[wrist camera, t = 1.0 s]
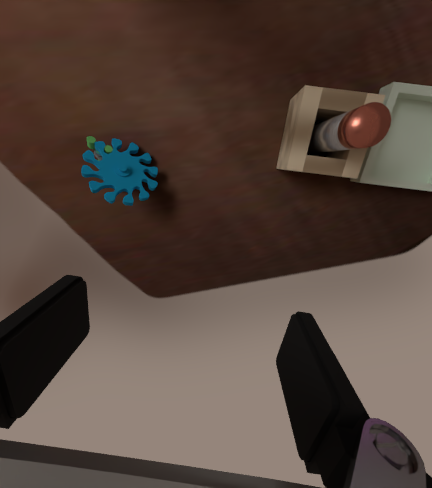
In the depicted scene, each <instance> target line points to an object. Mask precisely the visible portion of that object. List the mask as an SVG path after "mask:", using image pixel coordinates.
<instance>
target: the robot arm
mask: <svg viewBox="0 0 432 488" xmlns="http://www.w3.org/2000/svg"><path fill="white" fill-rule="evenodd" d="M88 313H89V312H88V300H87V286H86V282H85V281H83V279H82V277H78V276H72V275H66V276H64V277H62V278H61V279H60V280H58V281H57V282H56V283H54V284H53V285H51V286H50V287H49V288H47V289H46V290H45V291H43V292H42V293H40V294H39V295H37V296H36V297H35V298H33V299H32V300H30V301H29V302H28V303H26V304H25V305H23V306H22V307H21V308H19V309H18V310H16V311H15V312H14V313H12V314H11V315H9V316H8V317H7V318H5V319H4V320H2V321H1V322H0V428H6V429H9V428H10V426H11V425H12V424H13V422H14V421H15V420H16V419H17V418H20V417H22V416H23V415H24V414H25V413H26V412H27V410H28V409H29V408H30V407H31V405H32V404H33V403H34V402H35V401H36V399H37V398H38V397H39V396H40V394H41V393H42V392H43V390H44V389H45V388H46V387H47V385H48V384H49V383H50V382H51V380H52V379H53V378H54V376H55V375H56V374H57V373H58V372H59V370H60V369H61V368H62V367H63V365H64V364H65V363H66V362H67V360H68V359H69V358H70V356H71V355H72V354H73V353H74V351H75V350H76V349H77V348H78V346H79V345H80V344H81V343H82V341H83V340H84V339H85V338H86V336H87V335H88V333H89V329H90V328H89V327H90V325H89V314H88ZM276 365H277V369H278V373H279V377H280V381H281V385H282V390H283V394H284V398H285V402H286V406H287V410H288V414H289V418H290V422H291V426H292V430H293V434H294V438H295V442H296V446H297V450H298V454H299V457H300V458H301V460H304V462H305V465H306V470H307V472H308V473H313V474H320V475H321V478H322V481H323V484H324V486H325V488H432V477H430V476H429V475H428V474H427V473H426V471H425V467H424V463H423V460H422V459H421V456H420V454H419V453H418V451H417V450H416V448H415V447H414V445H413V444H412V443H411V442H410V441H409V440H408V439H407V438H406V437H405V435H404V434H403V433H401V432H400V431H399V430H398V429H396V428H395V427H394V426H392V425H391V424H389V423H387V422H386V421H383V420H380V419H376V418H370V417H369V415H368V414H367V412H366V410H365V408H364V407H363V405H362V403H361V401H360V399H359V398H358V396H357V394H356V393H355V390H354V388H353V387H352V385H351V384H350V381H349V380H348V378H347V376H346V374H345V372H344V371H343V369H342V367H341V365H340V363H339V362H338V360H337V358H336V356H335V354H334V353H333V351H332V350H331V348H330V346H329V344H328V343H327V341H326V339H325V337H324V335H323V334H322V332H321V330H320V328H319V326H318V325H317V323H316V321H315V319H314V318H313V316H312V315H311V314H310V313H304V312H297V313H296V314H293V315H292V316H291V319H290V321H289V324H288V327H287V330H286V333H285V335H284V338H283V341H282V344H281V347H280V349H279V352H278V355H277V359H276ZM0 488H320V487H315V486H309V485H303V484H297V483H291V482H286V481H280V480H274V479H268V478H262V477H255V476H249V475H242V474H235V473H229V472H222V471H216V470H209V469H203V468H196V467H190V466H183V465H175V464H169V463H162V462H155V461H148V460H142V459H135V458H127V457H121V456H114V455H107V454H101V453H94V452H87V451H79V450H72V449H65V448H58V447H50V446H44V445H36V444H29V443H21V442H15V441H7V440H0Z"/></svg>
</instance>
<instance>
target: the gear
mask: <svg viewBox="0 0 432 488" xmlns="http://www.w3.org/2000/svg"><path fill="white" fill-rule="evenodd" d="M87 145H88V147H89V148H91V149H94V154H93V152H91V151H90V150H88V151H86V152H85V153H84V154H83V159H84V160H85V161H86V162H89V163H92V164H94V165H95V166H96V167H97V168H98V169H99V171H97V172H96V171H93V170H92V169H91V168H90V167H89V166H87V165H83V166H82V170H81V173H82V176H83V177H97V178H99V179H102V180H103V181H104V182H103V183H98V182H96V181H90V182H89V187H90V189H91V191H92V192H93V193H97V192H98V191H99V190H101V189H104V188H113V189H114V190H115V191H114V192H107V193H105V195H104V199H105V200H106V201H108V202H109V203H111V204H112V203H114V201H115V198H116V196H117V195H118V194H119V193H121V192H123V191H126V192H127V193H128V195H126V196H125V197H124V198H123V204H125V205H130V206H132V205H133V201H134V200H133V197H132V192H133V190H134V189H138V190H139V191H140V195H139V199H140V200H141V201H144V200H147V199H148V198H149V194H148V192H146V191H145V190H144V188H143V186H142V182H146V183H147V184H148V188H149V189H150V190H151V191H153V190H155V188H156V187H157V185H158V183H157V182H156V181H154V180H151V179H149V178H148V177H147V176H146V175H145V174H144V172H148V173H149V174H150V175H151V176H152V177H156V176H157V173H158V168H157V167H146V166H144V165H142V164H140V163H139V162H144V163H146V164H150V163H151V157H150V155H149V153H145V154H143V155H142V156H139V157H133V156H131V155H130V154H136V153H138V149H139V147H138V146H137V145H136V144H134V143H133V142H132V143H130V145H129V148H128V149H127V150H126V151H124V152H118V151H117V150H118V149H120V148H121V147H122V141H121V140H119V139H115V138H113V139H112V147H113V149H112V147H111V146H105V143H104V142H103V141H98V142H96V140H95V138H94V137H92V136H88V137H87ZM94 155H95V156H96V157H97V158H98V160H96V159H95V158H94Z"/></svg>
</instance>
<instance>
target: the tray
mask: <svg viewBox="0 0 432 488" xmlns="http://www.w3.org/2000/svg"><path fill="white" fill-rule="evenodd" d="M379 94H381V95H385V98H384V101H383V104H384V105H385V106H386V107H387V108H388V109H389V111H390V114H391V125H390V128H389V131H388V133H387V134H386V136H385V137H384V138H383V139H382V140H381V141H380V142H379V143H378V144H376V145H374V146H372V147H368V148H367V151H366V154H365V157H364V160H363V163H362V166H361V169H360V172H359V175H358V178H357V179H356V178H351V179H350V181H352V182H359V183H367V184H375V185H383V186H391V187H399V188H407V189H416V190H424V191H432V86H424V85H416V84H408V83H400V82H393V83H391V84H389V85H386V86H384V87H382V88H380V91H379Z"/></svg>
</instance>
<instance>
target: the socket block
mask: <svg viewBox="0 0 432 488" xmlns="http://www.w3.org/2000/svg"><path fill="white" fill-rule="evenodd" d="M384 98H385V95H381V94H373V93H365V92H356V91H348V90H340V89H332V88H324V87H315V86H307V85H305V86H304V87H303V88H302V89H301V90H300V91H299V92H298V93H297V94H296V95H295V96H294V97H293V98H292V99H291V100H290V104H289V109H288V114H287V119H286V124H285V129H284V133H283V138H282V143H281V148H280V153H279V158H278V163H277V168H276V169H283V170H291V171H299V172H307V173H315V174H323V175H331V176H339V177H348V178H356V179H357V178H358V175H359V172H360V169H361V166H362V163H363V160H364V157H365V154H366V151H367V148H360V149H350V150H339V151H329V152H328V154H327V157H319V156H311V155H307V151H308V147H309V143H310V139H311V135H312V131H313V127H314V123H315V120H321V121H326V120H329V119H331V118H333V117H336V116H338V115H341V114H343V113H346V112H348V111H350V110H353V109H355V108H358V107H360V106H362V105H365V104H367V103H371V102H379V103H382V104H383V101H384Z"/></svg>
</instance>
